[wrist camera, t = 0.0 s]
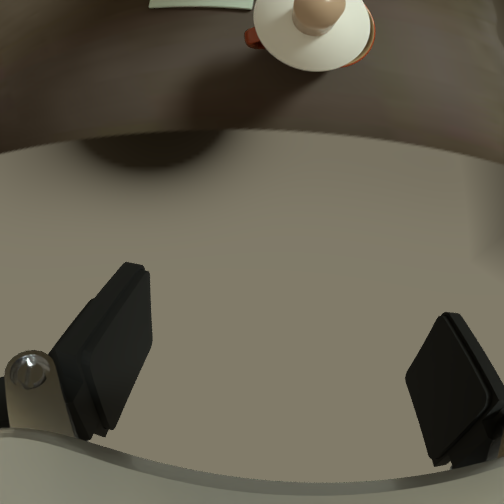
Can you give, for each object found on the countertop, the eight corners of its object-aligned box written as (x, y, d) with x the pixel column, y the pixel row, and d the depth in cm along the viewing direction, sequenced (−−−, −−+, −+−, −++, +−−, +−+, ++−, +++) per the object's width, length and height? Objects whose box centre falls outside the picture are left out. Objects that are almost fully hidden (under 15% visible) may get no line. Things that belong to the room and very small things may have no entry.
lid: (262, -32, 19) (258, -60, 14) (371, -10, 19) (392, -32, 14) (246, 61, 24) (238, 50, 18) (359, 83, 24) (380, 78, 18)
